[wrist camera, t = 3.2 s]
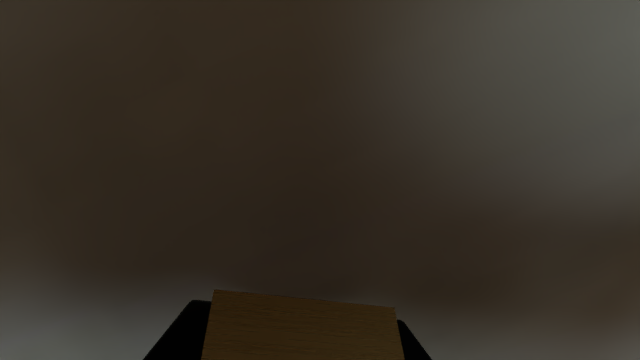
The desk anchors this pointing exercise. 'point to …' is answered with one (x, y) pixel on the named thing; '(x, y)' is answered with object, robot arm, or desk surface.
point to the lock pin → (298, 329)
